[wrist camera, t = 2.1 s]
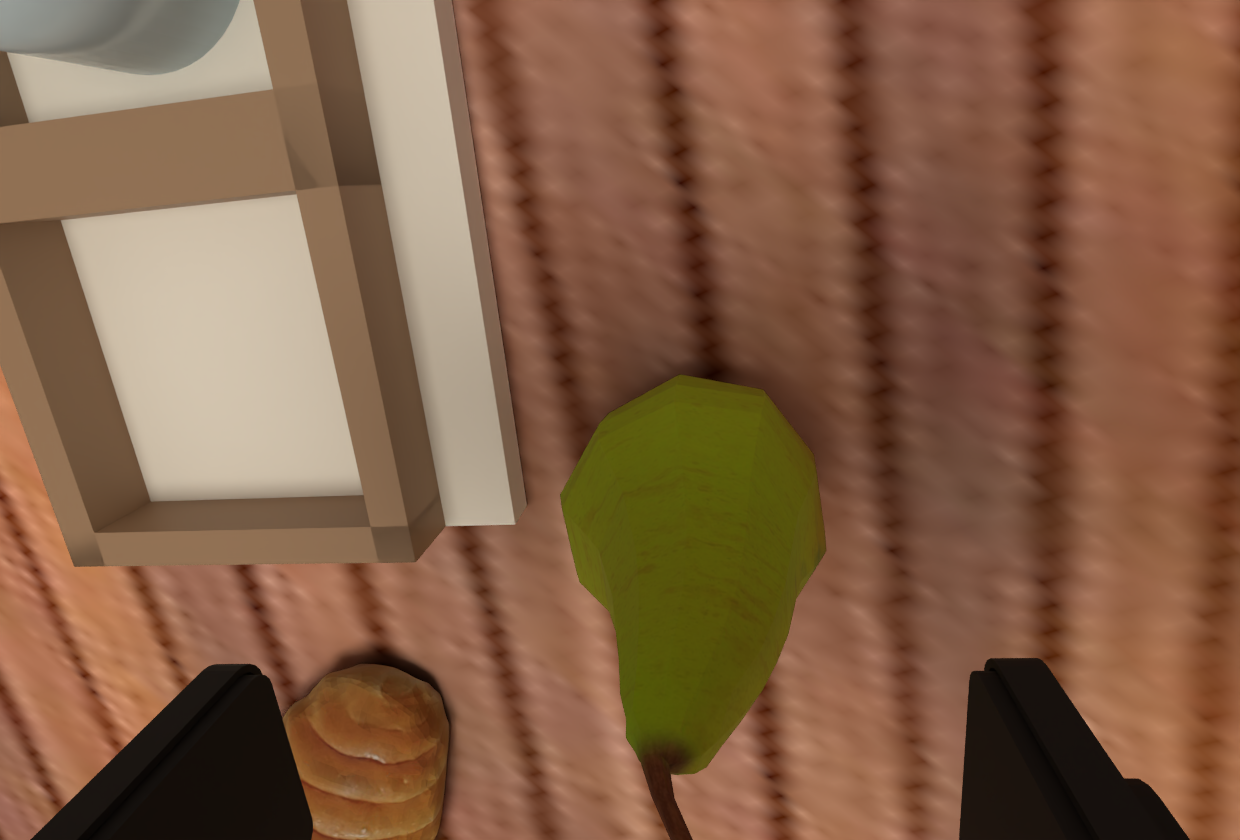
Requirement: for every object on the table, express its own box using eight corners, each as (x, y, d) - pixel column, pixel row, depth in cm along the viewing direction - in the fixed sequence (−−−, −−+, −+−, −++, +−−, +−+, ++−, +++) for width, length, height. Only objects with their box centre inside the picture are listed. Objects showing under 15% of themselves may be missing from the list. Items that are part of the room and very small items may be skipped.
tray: (393, -393, 15) (305, -540, 12) (526, 505, 21) (491, 560, 18) (-157, -251, 17) (-349, -343, 14) (106, 517, 23) (13, 567, 20)
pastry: (315, 610, 23) (240, 689, 20) (504, 697, 23) (463, 791, 20) (253, 803, 27) (179, 900, 23) (419, 879, 27) (370, 988, 23)
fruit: (600, 335, 19) (402, 567, 8) (840, 370, 18) (1017, 682, 7) (577, 549, 21) (394, 981, 10) (791, 588, 20) (865, 1097, 9)
